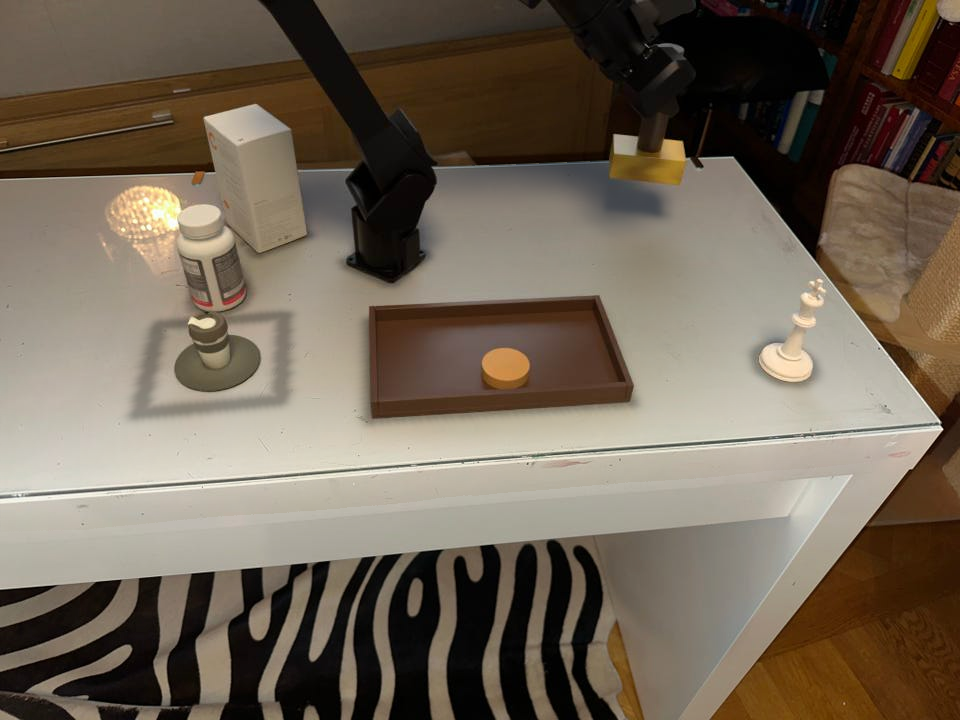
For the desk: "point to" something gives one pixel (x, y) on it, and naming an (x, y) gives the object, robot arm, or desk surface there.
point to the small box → (257, 176)
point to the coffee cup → (215, 355)
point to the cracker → (505, 368)
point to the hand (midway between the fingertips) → (669, 107)
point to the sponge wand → (648, 151)
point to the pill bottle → (209, 259)
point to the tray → (480, 329)
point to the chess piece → (795, 341)
